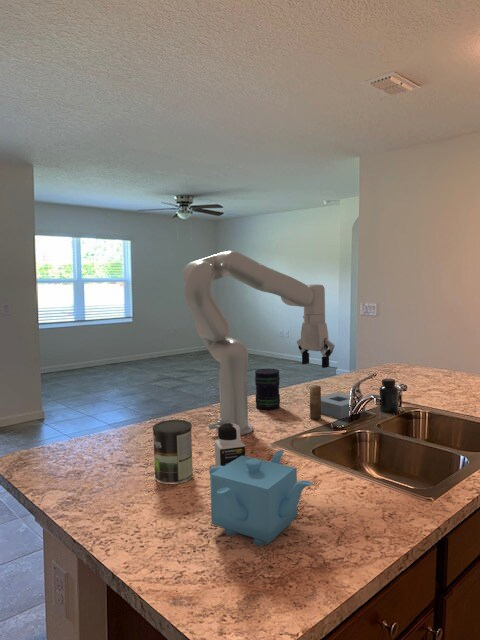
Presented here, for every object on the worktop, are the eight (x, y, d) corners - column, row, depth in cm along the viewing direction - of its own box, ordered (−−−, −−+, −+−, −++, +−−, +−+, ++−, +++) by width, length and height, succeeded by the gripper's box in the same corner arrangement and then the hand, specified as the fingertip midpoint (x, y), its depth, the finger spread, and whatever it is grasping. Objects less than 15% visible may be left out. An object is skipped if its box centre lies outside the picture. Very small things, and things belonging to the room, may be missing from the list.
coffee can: (158, 488, 119) (156, 434, 118) (151, 472, 129) (149, 422, 128) (198, 480, 123) (196, 428, 122) (188, 466, 133) (186, 417, 131)
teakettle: (206, 513, 106) (204, 449, 105) (286, 502, 110) (284, 441, 109) (220, 562, 88) (217, 486, 86) (315, 547, 92) (314, 474, 90)
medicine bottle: (220, 473, 127) (219, 430, 126) (214, 463, 134) (213, 422, 133) (246, 470, 129) (244, 427, 128) (239, 460, 136) (238, 420, 135)
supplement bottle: (395, 407, 184) (396, 377, 183) (400, 413, 177) (400, 381, 176) (377, 407, 185) (377, 377, 183) (381, 413, 178) (381, 381, 177)
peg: (315, 421, 170) (315, 388, 169) (307, 418, 173) (307, 386, 172) (323, 418, 173) (323, 386, 172) (315, 416, 176) (314, 384, 175)
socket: (341, 419, 171) (341, 406, 171) (312, 411, 182) (312, 398, 182) (365, 411, 180) (365, 398, 179) (336, 404, 191) (336, 392, 190)
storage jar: (284, 409, 186) (283, 372, 185) (261, 412, 183) (261, 374, 181) (273, 403, 196) (272, 367, 194) (251, 406, 192) (250, 370, 191)
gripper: (290, 318, 174) (291, 364, 176) (325, 321, 160) (326, 370, 162) (304, 316, 179) (305, 361, 180) (340, 319, 165) (340, 367, 167)
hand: (315, 365), depth 171 cm, fingers open, 9 cm apart
